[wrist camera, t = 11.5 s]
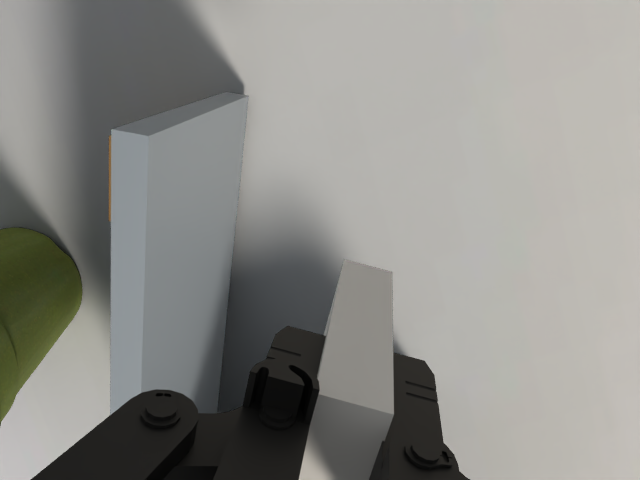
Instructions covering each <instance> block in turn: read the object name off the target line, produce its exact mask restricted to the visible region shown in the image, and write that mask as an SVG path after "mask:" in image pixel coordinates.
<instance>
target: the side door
mask: <svg viewBox="0 0 640 480" xmlns="http://www.w3.org/2000/svg"><path fill="white" fill-rule="evenodd" d="M248 97H249V96H247V95H241V94H236V93H230V92H224V93H221V94H218V95H215V96H212V97H209V98H206V99H203V100H200V101H196V102H193V103H190V104H187V105H184V106H181V107H178V108H175V109H172V110H169V111H166V112H163V113H160V114H156V115H153V116H150V117H147V118H144V119H141V120H138V121H135V122H132V123H129V124H126V125H123V126H120V127H116V128H113V129H111V136H109V221H111V355H110V415H111V414H112V413H114V412H115V411H116V410H117V409H119V408H120V407H121V406H122V405H124V404H125V403H126V402H127V401H129V400H130V399H131V398H133V397H135V396H137V395H138V394H140V393H142V392H146V391H151V390H155V389H159V390H172V391H175V392H179V393H182V394H184V395H185V396H187V397H188V398H190V399H191V400H192V401H193V402H194V404H195V405H196V407H197V409H198V413H217V408H218V398H219V388H220V378H221V368H222V358H223V348H224V338H225V328H226V318H227V308H228V298H229V288H230V278H231V268H232V258H233V248H234V238H235V228H236V218H237V208H238V198H239V187H240V177H241V167H242V157H243V147H244V137H245V127H246V117H247V107H248Z"/></svg>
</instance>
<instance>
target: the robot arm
mask: <svg viewBox="0 0 640 480" xmlns="http://www.w3.org/2000/svg"><path fill="white" fill-rule="evenodd" d="M437 401H438V399H437V392H436V384H435V377H434V374H433V373H432V371H431V370H430V368H429V367H428V365H427V364H426V362H425V361H423V360H419V359H415V358H412V357H408V356H404V355H400V354H397V353H393V286H392V272H391V271H387V270H383V269H380V268H376V267H372V266H368V265H364V264H360V263H357V262H353V261H349V260H345V259H344V261H343V265H342V268H341V272H340V276H339V280H338V283H337V287H336V291H335V295H334V298H333V302H332V306H331V310H330V313H329V317H328V321H327V325H326V328H325V332H324V335H320V334H316V333H313V332H309V331H305V330H301V329H298V328H294V327H290V326H287V327H286V328H284V329H283V330H281V331H280V332H278V333H277V334H276V335H275V338H274V340H273V343H272V345H271V348H270V350H269V353H268V355H267V358H266V360H264V361H262V362H260V363H258V364H256V365H255V366H254V367H253V368H252V370H251V371H250V375H249V379H248V384H247V389H246V393H245V398H244V403H243V406H242V407H240V408H238V409H235V410H233V411H229V412H225V413H198V409H197V407H196V405H195V404H194V402H193V401H192V400H191V399H190V398H188V397H187V396H185V395H184V394H182V393H179V392H175V391H172V390H159V389H155V390H151V391H146V392H142V393H140V394H138V395H137V396H135V397H133V398H131V399H130V400H129V401H127V402H126V403H125V404H124V405H122V406H121V407H120V408H119V409H117V410H116V411H115V412H114V413H112V414H111V415H110V416H109V417H108V418H106V419H105V420H104V421H103V422H101V423H100V424H99V425H98V426H96V427H95V428H94V429H93V430H92V431H90V432H89V433H88V434H87V435H85V436H84V437H83V438H82V439H80V440H79V441H78V442H77V443H75V444H74V445H73V446H72V447H71V448H69V449H68V450H67V451H66V452H64V453H63V454H62V455H61V456H59V457H58V458H57V459H56V460H54V461H53V462H52V463H51V464H50V465H48V466H47V467H46V468H45V469H43V470H42V471H41V472H40V473H38V474H37V475H36V476H35V477H33V478H32V479H31V480H470V479H468V478H466V477H465V476H464V475H463V474H462V473H461V472H459V467H458V463H457V461H456V458H455V456H454V454H453V453H452V452H451V451H450V449H449V448H448V447H447V446H446V445H445V444H444V443H443V436H442V429H441V421H440V414H439V406H438V403H437Z"/></svg>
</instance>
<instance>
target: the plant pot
mask: <svg viewBox="0 0 640 480" xmlns="http://www.w3.org/2000/svg"><path fill="white" fill-rule="evenodd" d="M81 300H82V283H81V279H80V276H79V272H78V270H77V268H76V266H75V264H74V262H73V261H72V259H71V258H70V257H69V256H68V255H66V254H65V253H64V252H63V251H61V250H60V249H59V248H58V247H57V246H56V245H55V244H54V242H53V241H52V240H51V239H50V238H48V237H47V236H45V235H43V234H41V233H38V232H36V231H33V230H30V229H25V228H5V229H0V425H1V421H2V420H3V418H4V417H5V416H6V414H7V413H8V411H9V410H10V408H11V406H12V404H13V402H14V400H15V397H16V394H17V393H18V392H19V390H20V389H21V388H22V386H23V385H24V383H25V382H26V381H27V379H28V378H29V377H30V375H31V374H32V373H33V372H34V370H35V369H36V368H37V366H38V365H39V364H40V362H41V361H42V360H43V358H44V357H45V355H46V354H47V353H48V351H49V350H50V349H51V347H52V346H53V345H54V343H55V342H56V341H57V339H58V338H59V337H60V335H61V334H62V333H63V331H64V330H65V329H66V327H67V326H68V325H69V323H70V322H71V321H72V320H73V318H74V316H75V315H76V313H77V312H78V310H79V307H80V304H81Z"/></svg>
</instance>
